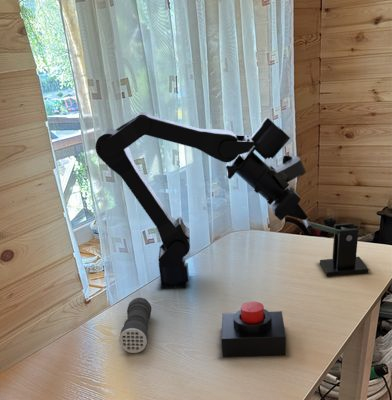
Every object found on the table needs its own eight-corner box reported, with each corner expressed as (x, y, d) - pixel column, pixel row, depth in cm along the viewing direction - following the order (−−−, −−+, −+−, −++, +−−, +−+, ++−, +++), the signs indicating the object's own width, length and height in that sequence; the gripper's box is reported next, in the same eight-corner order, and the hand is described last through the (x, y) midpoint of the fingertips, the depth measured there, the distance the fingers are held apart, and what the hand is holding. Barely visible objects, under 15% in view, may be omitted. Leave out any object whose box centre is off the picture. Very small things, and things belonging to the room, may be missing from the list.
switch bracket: (326, 277, 125) (329, 234, 119) (319, 264, 132) (321, 223, 126) (368, 273, 125) (372, 230, 119) (358, 260, 132) (362, 219, 126)
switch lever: (305, 232, 120) (309, 222, 119) (300, 223, 125) (304, 214, 124) (352, 244, 122) (356, 235, 121) (345, 235, 127) (349, 226, 126)
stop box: (222, 357, 99) (220, 330, 96) (223, 331, 107) (222, 305, 104) (285, 355, 98) (285, 328, 94) (281, 329, 106) (281, 303, 103)
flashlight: (129, 317, 116) (126, 295, 113) (153, 315, 116) (150, 293, 113) (121, 353, 103) (117, 330, 100) (148, 351, 103) (144, 328, 100)
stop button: (241, 324, 98) (240, 312, 96) (241, 313, 102) (240, 301, 100) (264, 323, 97) (264, 311, 96) (263, 312, 101) (263, 300, 100)
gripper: (290, 154, 105) (342, 203, 110) (277, 138, 121) (322, 181, 126) (253, 197, 109) (304, 241, 115) (244, 175, 125) (289, 215, 130)
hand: (306, 218), depth 121 cm, fingers closed
